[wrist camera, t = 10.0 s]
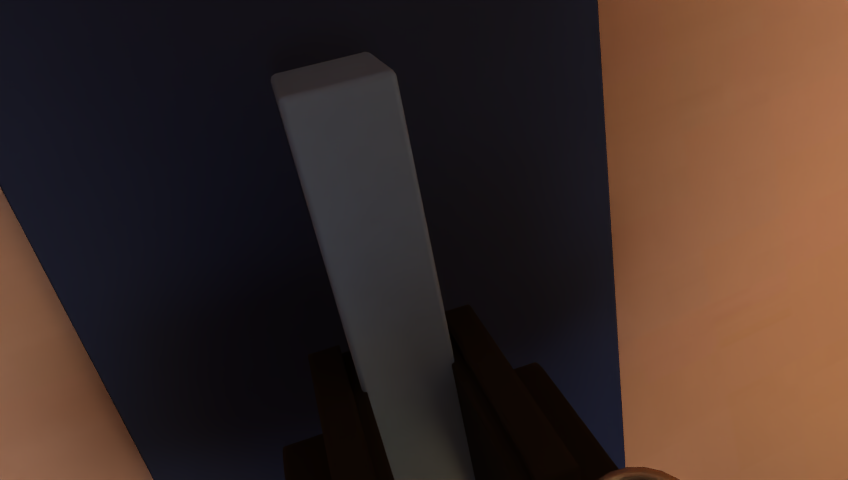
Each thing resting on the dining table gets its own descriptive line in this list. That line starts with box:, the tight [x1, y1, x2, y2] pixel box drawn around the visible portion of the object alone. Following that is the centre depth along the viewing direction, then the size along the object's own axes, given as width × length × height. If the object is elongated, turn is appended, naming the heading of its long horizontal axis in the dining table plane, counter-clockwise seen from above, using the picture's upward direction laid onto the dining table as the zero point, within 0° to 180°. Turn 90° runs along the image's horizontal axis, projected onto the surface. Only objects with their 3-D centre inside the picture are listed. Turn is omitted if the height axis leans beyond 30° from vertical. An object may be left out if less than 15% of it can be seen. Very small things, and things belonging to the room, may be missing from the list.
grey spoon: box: [271, 52, 475, 480], centre depth 11 cm, size 14×4×2 cm, turn 11°
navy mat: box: [0, 0, 625, 480], centre depth 13 cm, size 18×10×1 cm, turn 11°
